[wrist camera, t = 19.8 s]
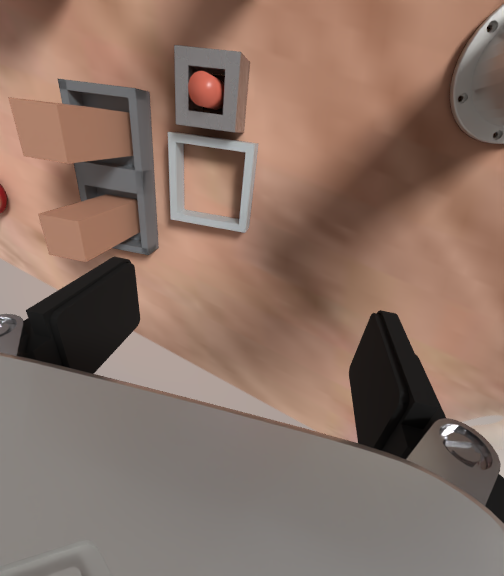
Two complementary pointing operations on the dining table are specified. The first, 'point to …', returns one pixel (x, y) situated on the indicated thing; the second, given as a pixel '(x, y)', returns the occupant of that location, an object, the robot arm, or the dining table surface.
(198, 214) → the light grey square frame
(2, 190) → the liquor
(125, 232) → the block
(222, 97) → the red egg shape
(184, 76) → the grey square holder
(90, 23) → the dining table surface
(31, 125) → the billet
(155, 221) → the grey two-slot rack
